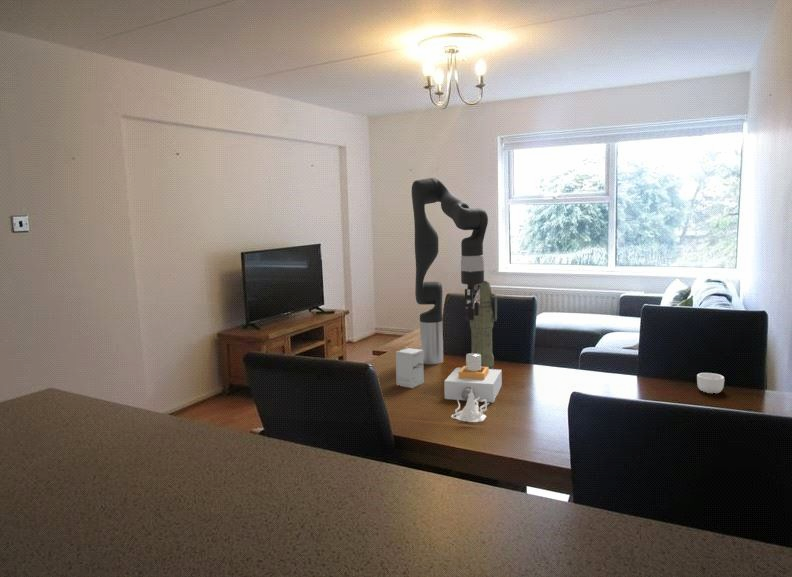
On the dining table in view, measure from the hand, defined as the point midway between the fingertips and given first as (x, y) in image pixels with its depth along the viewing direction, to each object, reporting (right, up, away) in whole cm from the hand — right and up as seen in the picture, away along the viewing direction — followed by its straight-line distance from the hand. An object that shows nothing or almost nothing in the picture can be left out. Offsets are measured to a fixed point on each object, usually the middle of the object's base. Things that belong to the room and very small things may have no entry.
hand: (473, 317), depth 184 cm
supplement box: (-21, -25, +14) cm, 35 cm away
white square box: (0, -26, +1) cm, 26 cm away
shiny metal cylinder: (+1, -23, +2) cm, 23 cm away
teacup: (+77, -24, -3) cm, 81 cm away
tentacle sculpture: (-3, -29, -21) cm, 36 cm away
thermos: (+7, -23, +29) cm, 37 cm away
